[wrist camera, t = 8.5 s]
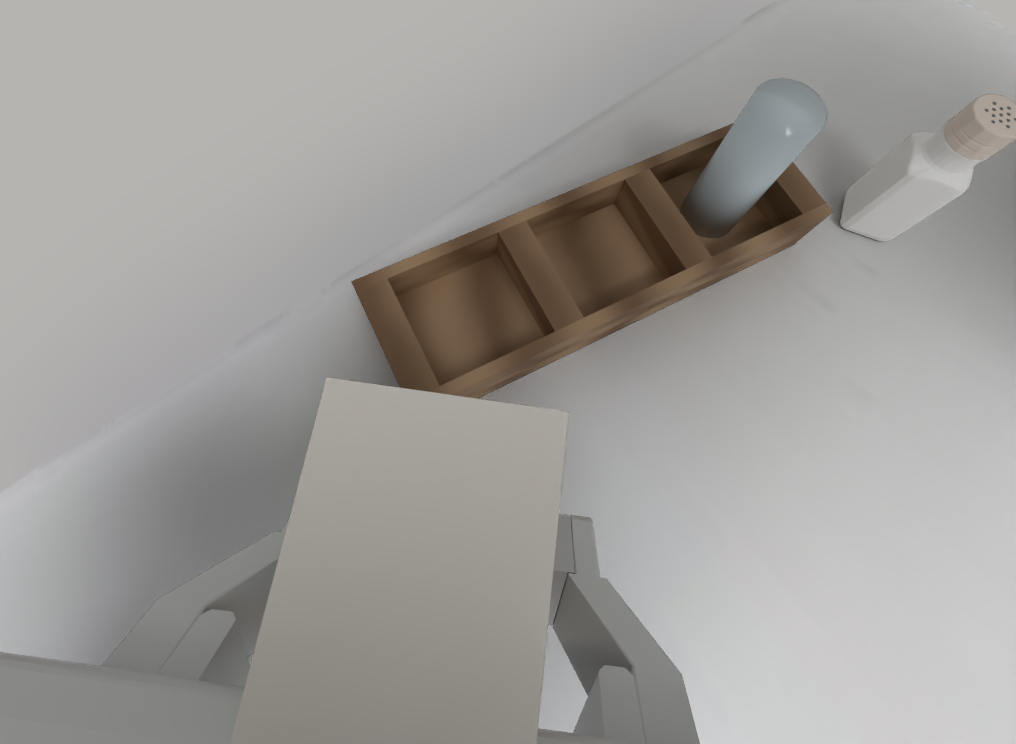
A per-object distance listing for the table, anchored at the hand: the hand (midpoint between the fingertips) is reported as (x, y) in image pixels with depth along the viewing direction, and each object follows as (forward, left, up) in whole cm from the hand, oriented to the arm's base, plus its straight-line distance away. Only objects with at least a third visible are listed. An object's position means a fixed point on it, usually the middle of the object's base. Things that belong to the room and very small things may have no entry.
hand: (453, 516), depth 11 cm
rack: (-15, -10, -17) cm, 25 cm away
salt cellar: (-24, -10, -15) cm, 30 cm away
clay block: (0, +1, -6) cm, 6 cm away
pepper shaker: (-37, -5, -17) cm, 41 cm away
